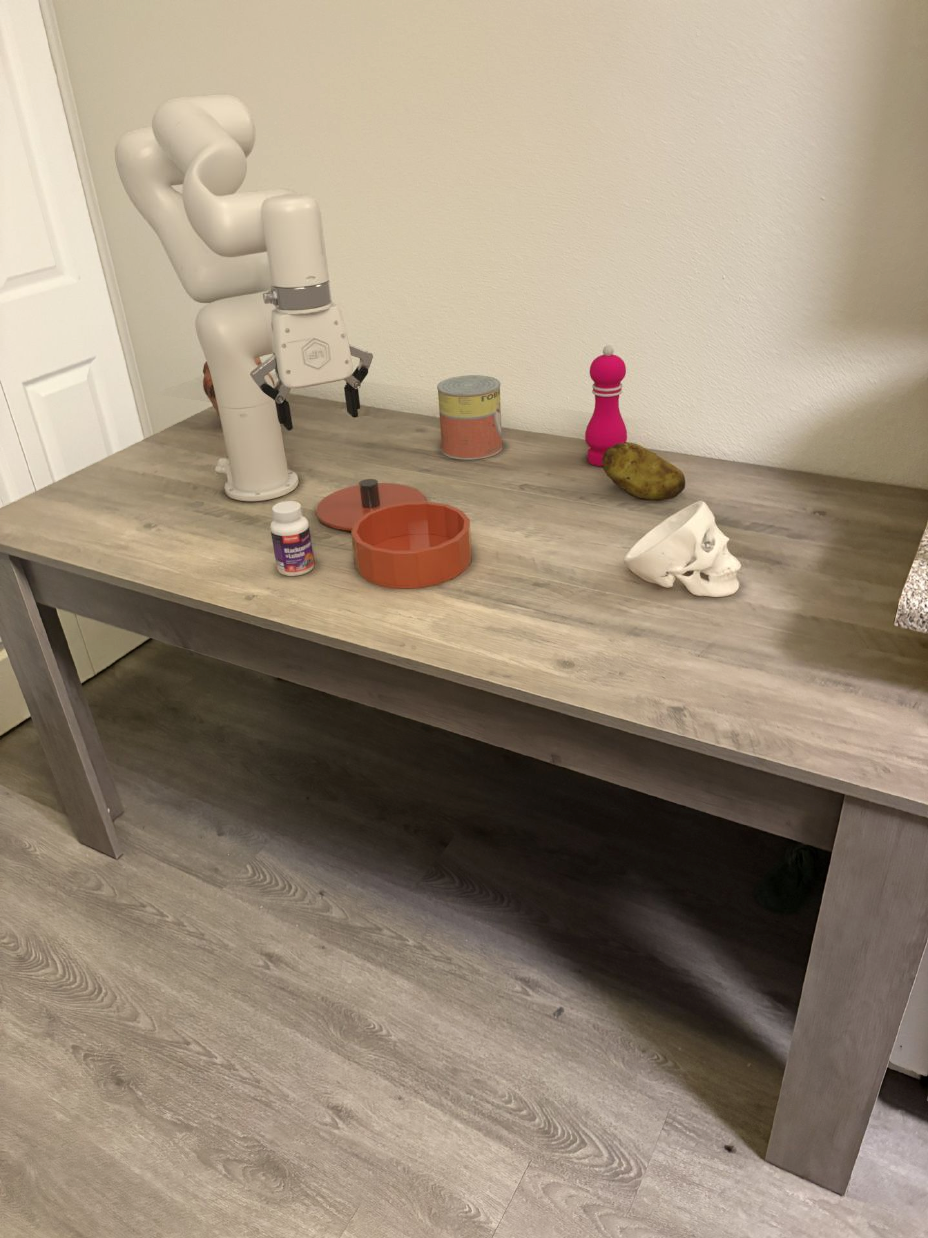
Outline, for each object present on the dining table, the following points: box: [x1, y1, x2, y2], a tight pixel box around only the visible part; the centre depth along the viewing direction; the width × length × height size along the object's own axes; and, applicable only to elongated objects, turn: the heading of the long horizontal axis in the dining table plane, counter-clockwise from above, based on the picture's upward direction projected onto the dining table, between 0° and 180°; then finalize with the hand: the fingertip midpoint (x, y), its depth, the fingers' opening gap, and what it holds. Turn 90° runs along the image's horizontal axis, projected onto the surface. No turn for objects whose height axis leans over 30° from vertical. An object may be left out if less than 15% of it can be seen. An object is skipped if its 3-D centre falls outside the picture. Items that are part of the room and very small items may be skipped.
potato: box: [602, 441, 686, 500], centre depth 146 cm, size 8×13×8 cm, turn 46°
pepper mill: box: [584, 344, 628, 467], centre depth 156 cm, size 7×7×20 cm
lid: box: [315, 478, 427, 532], centre depth 147 cm, size 18×18×5 cm
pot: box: [350, 501, 473, 589], centre depth 131 cm, size 17×17×6 cm
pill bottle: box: [269, 500, 315, 577], centre depth 130 cm, size 5×5×10 cm
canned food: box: [436, 374, 503, 461], centre depth 167 cm, size 11×11×12 cm
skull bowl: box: [623, 500, 742, 598], centre depth 122 cm, size 10×14×12 cm
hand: (320, 421), depth 131 cm, fingers open, 9 cm apart
